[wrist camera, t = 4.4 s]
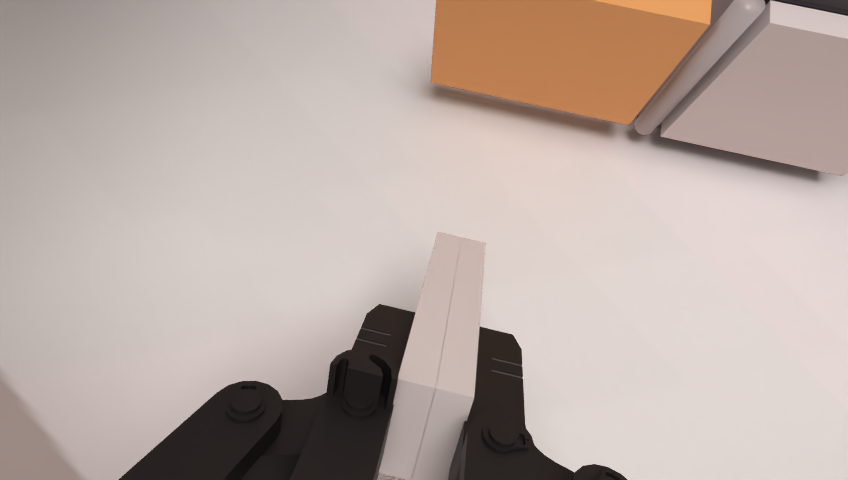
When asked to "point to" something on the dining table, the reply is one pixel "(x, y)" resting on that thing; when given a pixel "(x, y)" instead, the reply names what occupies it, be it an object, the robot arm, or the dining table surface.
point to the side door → (663, 69)
